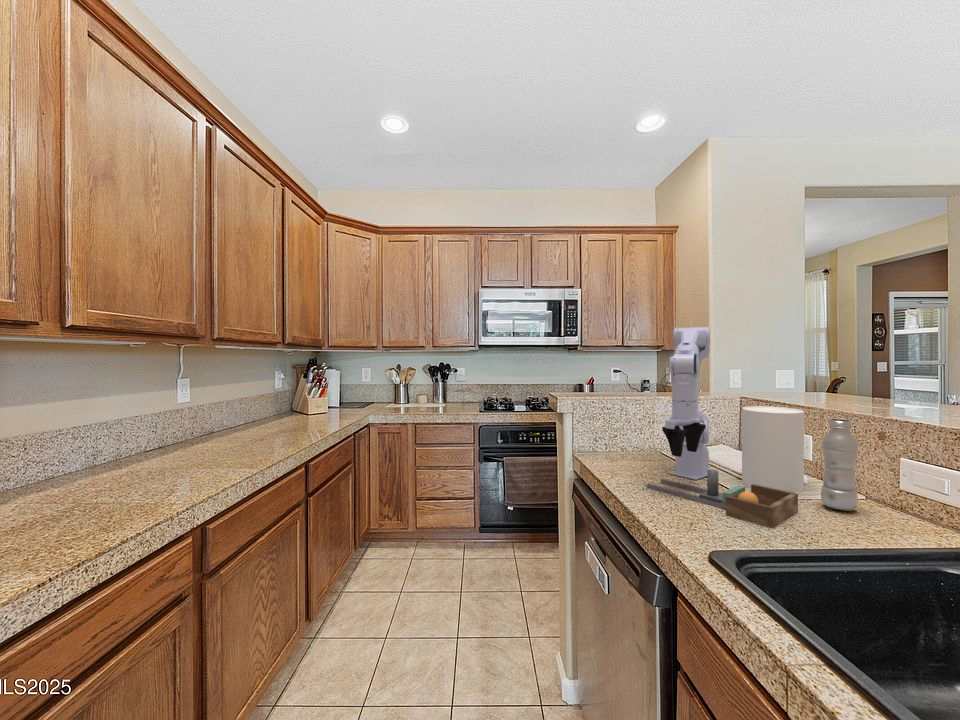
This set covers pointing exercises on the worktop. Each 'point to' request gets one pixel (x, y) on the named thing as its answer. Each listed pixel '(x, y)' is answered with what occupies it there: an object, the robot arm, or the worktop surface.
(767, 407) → the canister
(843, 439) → the plastic bottle
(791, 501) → the box
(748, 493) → the ball
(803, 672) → the worktop surface
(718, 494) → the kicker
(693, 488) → the guide rails
